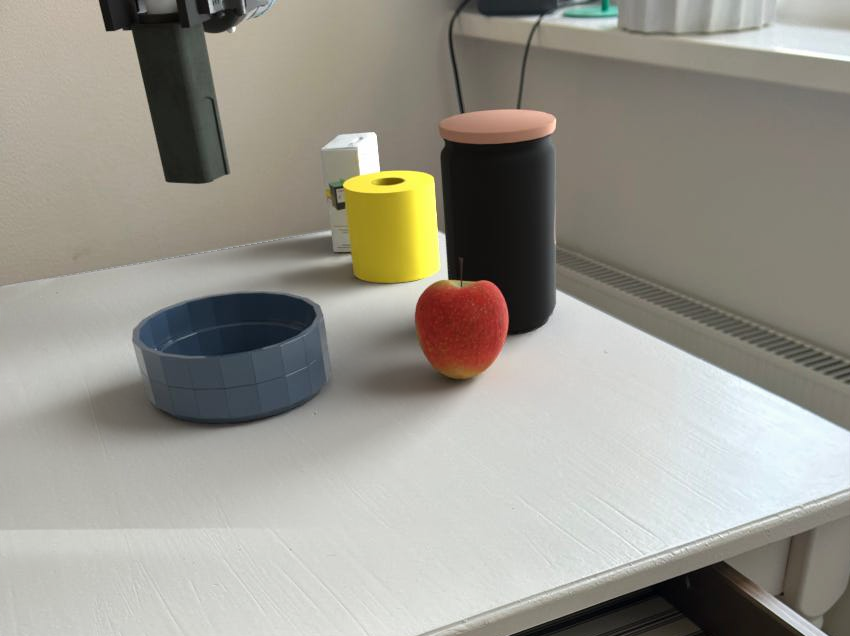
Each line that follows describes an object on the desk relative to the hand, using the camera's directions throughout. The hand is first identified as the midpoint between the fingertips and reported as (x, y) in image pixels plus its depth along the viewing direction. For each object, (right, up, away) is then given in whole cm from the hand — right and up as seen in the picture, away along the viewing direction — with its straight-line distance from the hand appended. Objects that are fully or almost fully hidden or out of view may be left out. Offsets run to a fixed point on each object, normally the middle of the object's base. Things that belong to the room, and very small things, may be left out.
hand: (144, 10), depth 81 cm
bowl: (+7, -30, +7) cm, 31 cm away
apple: (+27, -29, +7) cm, 40 cm away
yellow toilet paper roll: (+18, -9, +32) cm, 38 cm away
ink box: (+13, -3, +41) cm, 43 cm away
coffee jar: (+30, -20, +18) cm, 40 cm away
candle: (+1, -8, +13) cm, 15 cm away
